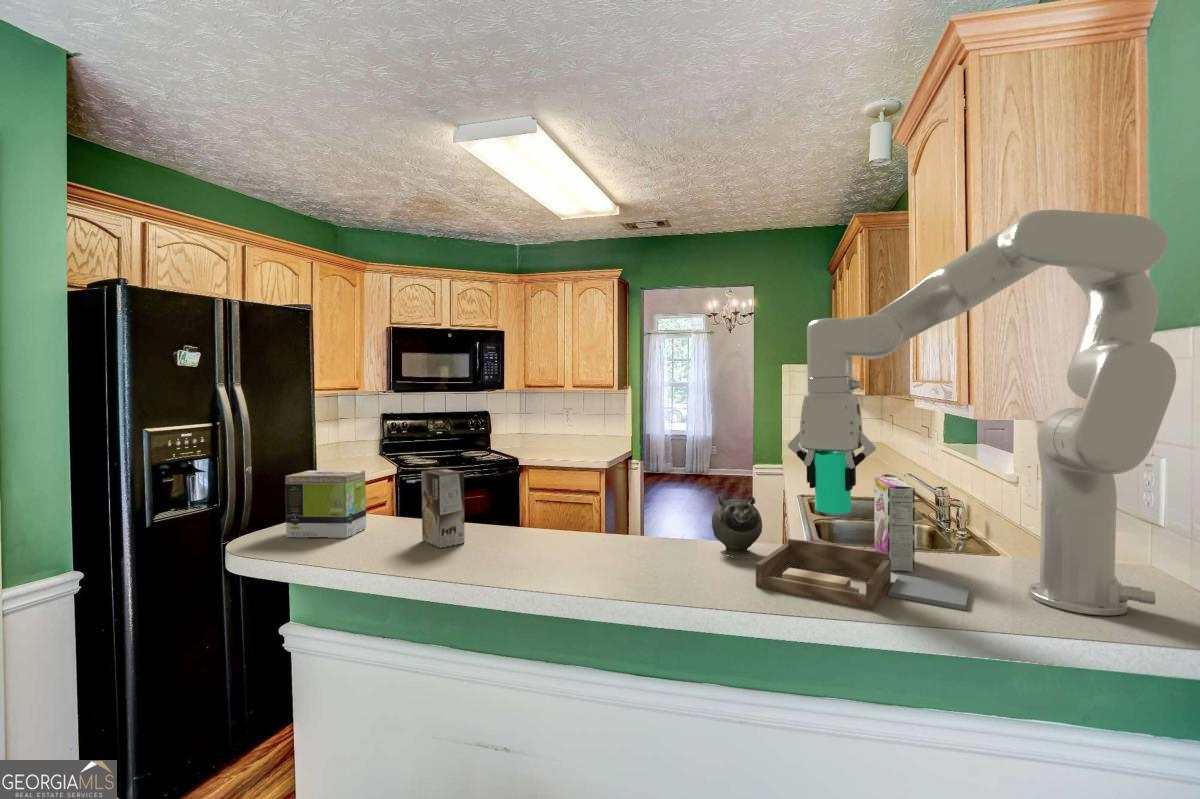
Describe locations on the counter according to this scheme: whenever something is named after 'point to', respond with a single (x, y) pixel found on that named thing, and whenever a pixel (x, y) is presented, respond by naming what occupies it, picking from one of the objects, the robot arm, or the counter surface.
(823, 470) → the candle
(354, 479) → the tea box
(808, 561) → the wooden tray
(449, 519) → the coffee box
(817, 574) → the offcut stack
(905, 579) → the mat
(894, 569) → the candy bar box
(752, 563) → the counter surface
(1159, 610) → the counter surface
